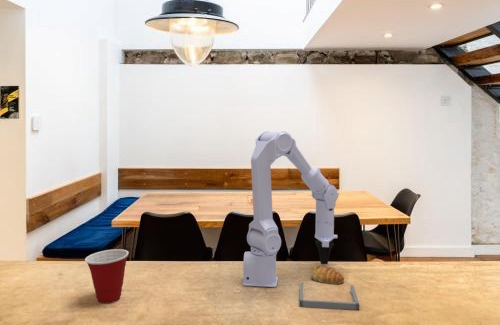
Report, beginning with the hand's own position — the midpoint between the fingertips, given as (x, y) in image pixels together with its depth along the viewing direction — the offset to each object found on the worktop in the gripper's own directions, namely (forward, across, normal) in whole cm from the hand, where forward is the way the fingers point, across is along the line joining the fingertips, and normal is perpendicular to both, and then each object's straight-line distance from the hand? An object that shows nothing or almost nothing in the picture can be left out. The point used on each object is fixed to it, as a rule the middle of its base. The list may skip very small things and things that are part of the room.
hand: (324, 263), depth 133 cm
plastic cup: (+2, -32, +57) cm, 66 cm away
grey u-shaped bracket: (+2, -23, 0) cm, 23 cm away
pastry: (+2, -9, 0) cm, 10 cm away
